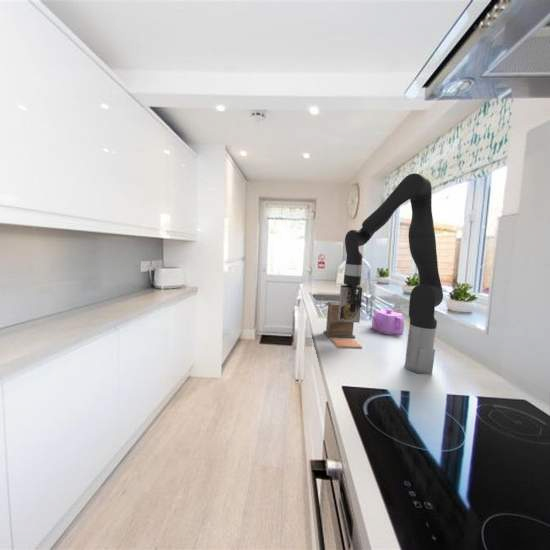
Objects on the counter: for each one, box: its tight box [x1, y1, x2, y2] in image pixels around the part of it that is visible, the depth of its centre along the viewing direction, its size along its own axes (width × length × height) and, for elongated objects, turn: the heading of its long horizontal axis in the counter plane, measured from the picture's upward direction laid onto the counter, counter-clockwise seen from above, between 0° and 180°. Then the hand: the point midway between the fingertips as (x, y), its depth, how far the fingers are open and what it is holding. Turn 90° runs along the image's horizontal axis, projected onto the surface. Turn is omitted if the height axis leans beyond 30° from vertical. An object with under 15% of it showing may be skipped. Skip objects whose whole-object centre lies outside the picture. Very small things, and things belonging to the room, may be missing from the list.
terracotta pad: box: [330, 338, 363, 349], centre depth 141 cm, size 11×11×1 cm
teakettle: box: [371, 308, 405, 336], centre depth 168 cm, size 17×17×12 cm
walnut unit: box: [323, 301, 356, 339], centre depth 153 cm, size 8×14×16 cm, turn 97°
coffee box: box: [338, 284, 363, 324], centre depth 139 cm, size 9×6×16 cm
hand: (349, 309), depth 139 cm, fingers closed on coffee box, 7 cm apart
